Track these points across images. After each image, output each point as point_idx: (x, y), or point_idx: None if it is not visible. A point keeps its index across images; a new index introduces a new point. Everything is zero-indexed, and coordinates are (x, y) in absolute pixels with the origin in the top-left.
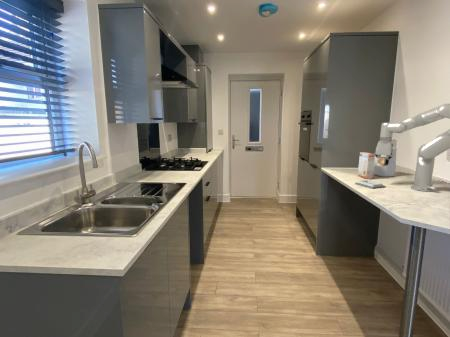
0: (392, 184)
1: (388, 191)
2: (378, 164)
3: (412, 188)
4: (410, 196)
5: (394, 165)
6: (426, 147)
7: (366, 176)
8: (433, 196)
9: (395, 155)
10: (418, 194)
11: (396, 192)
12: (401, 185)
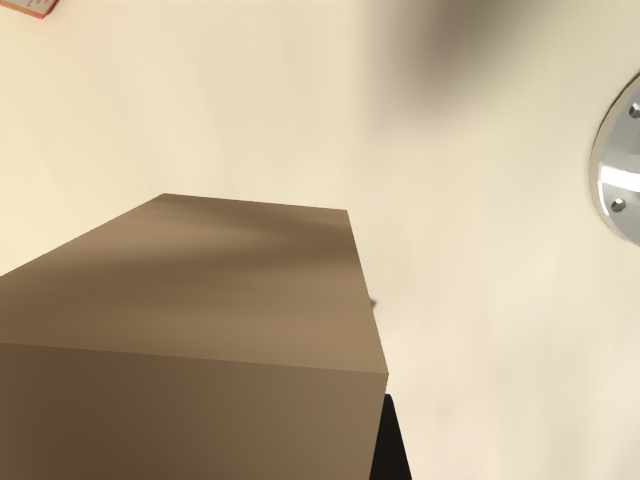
0: (398, 113)
1: (417, 432)
2: None
3: (606, 221)
4: (567, 468)
5: None
6: None
7: (17, 6)
8: None
9: None
10: (629, 380)
11: (473, 424)
12: (494, 92)
